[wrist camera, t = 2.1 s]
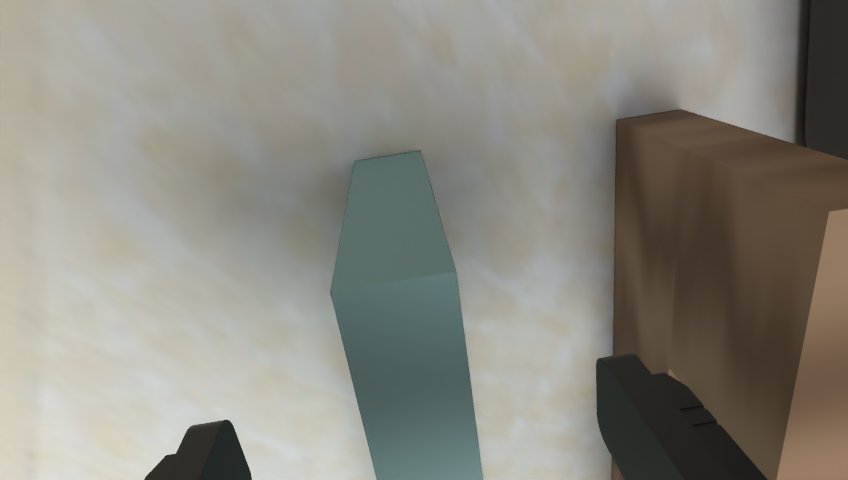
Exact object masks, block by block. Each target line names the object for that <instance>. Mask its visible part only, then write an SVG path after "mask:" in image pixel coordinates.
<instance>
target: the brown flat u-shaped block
mask: <svg viewBox="0 0 848 480" xmlns="http://www.w3.org/2000/svg"><path fill="white" fill-rule="evenodd" d="M627 353H634V354H636V355H637V356H638V357H639V359H640V360H641V361H642V362H643V364H644V365H645V366H646V367H647V369H648V370H649V371H650V373H651V374H658V373H664V372H665V373H666V374H668V375H670V376H671V377H673V378H675V379H676V380H678V381H679V382H681V383H683V384H684V385H686V386H688V387H689V389H690V390H691V391H692V392H693V393H694V394H695V396H696V397H697V398H698V399H699V400H700V401H701V403H702V404H703V405H704V408H705V409H707V410H708V411H709V412H710V413H711V414H712V415H713V417H714V418H715V419H716V420H717V423H718V425H721V426H722V427H723V428H724V429H725V431H726V432H727V433H728V434H729V435H730V436H731V437H732V439H733V440H734V441H735V442H736V443H737V444H738V446H739V447H740V448H741V449H742V450H743V451H744V453H745V454H746V455H747V456H748V457H749V458H750V460H751V461H752V462H753V463H754V464H755V465H756V467H757V468H758V469H759V470H760V471H761V472H762V474H763V475H764V476H765V477H766V478H767V479H768V480H848V160H845V159H842V158H839V157H835V156H832V155H829V154H826V153H822V152H819V151H816V150H813V149H809V148H806V147H803V146H799V145H796V144H793V143H790V142H786V141H783V140H780V139H776V138H773V137H770V136H767V135H763V134H760V133H757V132H753V131H750V130H747V129H744V128H740V127H737V126H734V125H730V124H727V123H724V122H721V121H717V120H714V119H711V118H708V117H704V116H701V115H698V114H694V113H691V112H688V111H685V110H676V111H669V112H663V113H657V114H650V115H644V116H638V117H631V118H625V119H619V120H617V124H616V198H615V272H614V347H613V356H616V355H621V354H627ZM612 480H625V479H624V477H623V476H622V474H621V472H620V470H619V468H618V466H617V464H616V463H615V461H614V459H613V457H612Z"/></svg>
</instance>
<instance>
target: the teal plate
mask: <svg viewBox="0 0 848 480" xmlns="http://www.w3.org/2000/svg"><path fill="white" fill-rule="evenodd" d="M330 293H331V297H332V301H333V305H334V309H335V313H336V317H337V321H338V325H339V329H340V333H341V337H342V341H343V345H344V349H345V353H346V357H347V361H348V365H349V369H350V373H351V377H352V381H353V385H354V389H355V394H356V398H357V402H358V406H359V410H360V414H361V418H362V422H363V426H364V430H365V434H366V438H367V442H368V446H369V450H370V454H371V458H372V462H373V466H374V470H375V474H376V478H377V480H483V474H482V466H481V459H480V451H479V443H478V435H477V428H476V420H475V412H474V405H473V397H472V389H471V381H470V374H469V366H468V358H467V350H466V343H465V335H464V327H463V319H462V312H461V304H460V296H459V289H458V281H457V273H456V269H455V266H454V262H453V259H452V256H451V252H450V249H449V245H448V242H447V239H446V235H445V232H444V229H443V225H442V222H441V218H440V215H439V212H438V208H437V205H436V202H435V198H434V195H433V192H432V188H431V185H430V181H429V178H428V175H427V171H426V168H425V165H424V161H423V158H422V155H421V151H416V152H409V153H403V154H397V155H390V156H384V157H378V158H371V159H365V160H359V161H354V167H353V172H352V178H351V183H350V188H349V194H348V199H347V205H346V210H345V216H344V221H343V226H342V232H341V237H340V243H339V248H338V254H337V259H336V264H335V270H334V275H333V281H332V286H331V291H330Z"/></svg>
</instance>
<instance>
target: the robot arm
mask: <svg viewBox="0 0 848 480" xmlns="http://www.w3.org/2000/svg"><path fill="white" fill-rule="evenodd" d="M596 385H597V418H598V424H599V428H600V431H601V434H602V437H603V440H604V442H605V444H606V446H607V448H608V450H609V452H610V453H611V455H612V457H613V459H614V461H615V463H616V464H617V466H618V468H619V470H620V472H621V474H622V476H623V477H624V479H625V480H768V479H767V478H766V477H765V476H764V475H763V474H762V472H761V471H760V470H759V469H758V468H757V467H756V465H755V464H754V463H753V462H752V461H751V460H750V458H749V457H748V456H747V455H746V454H745V453H744V451H743V450H742V449H741V448H740V447H739V446H738V444H737V443H736V442H735V441H734V440H733V439H732V437H731V436H730V435H729V434H728V433H727V432H726V431H725V429H724V428H723V427H722V426H721V425H718V423H717V420H716V419H715V418H714V417H713V415H712V414H711V413H710V412H709V411H708V410H707V409H705V408H704V405H703V404H702V403H701V401H700V400H699V399H698V398H697V397H696V396H695V394H694V393H693V392H692V391H691V390H690V389H689V387H688V386H686V385H684V384H683V383H681V382H679V381H678V380H676V379H675V378H673V377H671V376H670V375H668V374H666V373H665V372H664V373H658V374H651V373H650V371H649V370H648V369H647V367H646V366H645V365H644V364H643V362H642V361H641V360H640V359H639V357H638V356H637V355H636V354H634V353H627V354H621V355H616V356H610V357H604V358H599V359H598V360H597V364H596ZM145 480H252V478H251V473H250V470H249V467H248V464H247V462H246V459H245V456H244V454H243V451H242V448H241V446H240V443H239V440H238V437H237V435H236V432H235V429H234V427H233V425H232V423H231V422H230V421H229V420H223V421H217V422H211V423H205V424H199V425H193V426H191V427H190V428H189V429H188V430H187V432H186V434H185V436H184V438H183V440H182V442H181V444H180V446H179V448H178V451H177V453H176V454H171V455H166V456H165V457H164V458H163V459H162V460H161V461H160V463H159V464H158V465H157V466H156V467H155V468H154V469H153V470H152V471H151V472H150V473H149V474H148V475H147V476H146V478H145Z"/></svg>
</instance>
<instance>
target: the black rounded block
mask: <svg viewBox="0 0 848 480" xmlns="http://www.w3.org/2000/svg"><path fill="white" fill-rule="evenodd" d="M805 141H806V146H807V148H809V149H813V150H816V151H819V152H822V153H826V154H829V155H832V156H835V157H839V158H842V159H845V160H848V0H811V5H810V25H809V46H808V67H807V88H806V109H805Z"/></svg>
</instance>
